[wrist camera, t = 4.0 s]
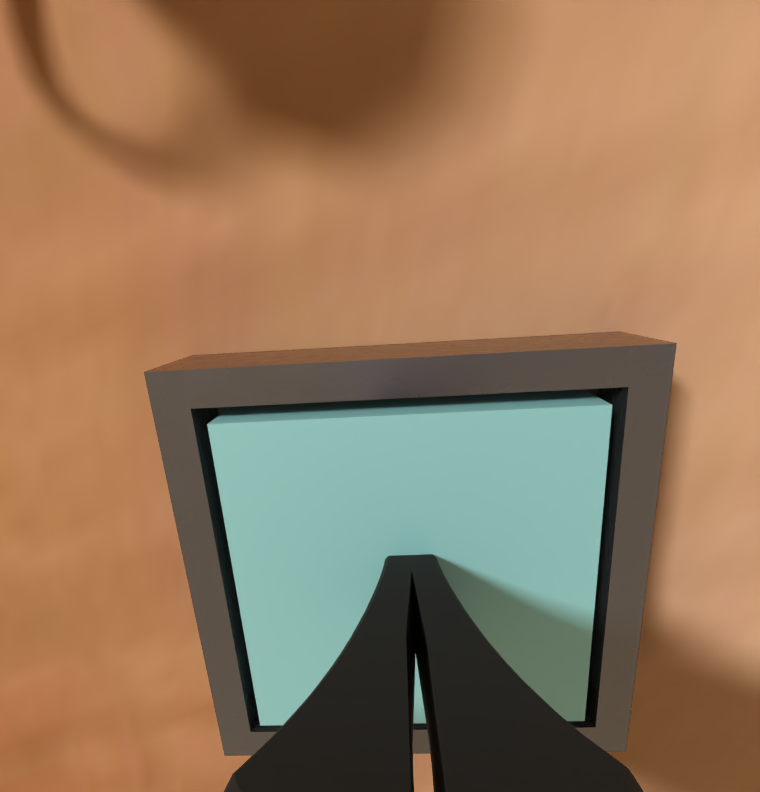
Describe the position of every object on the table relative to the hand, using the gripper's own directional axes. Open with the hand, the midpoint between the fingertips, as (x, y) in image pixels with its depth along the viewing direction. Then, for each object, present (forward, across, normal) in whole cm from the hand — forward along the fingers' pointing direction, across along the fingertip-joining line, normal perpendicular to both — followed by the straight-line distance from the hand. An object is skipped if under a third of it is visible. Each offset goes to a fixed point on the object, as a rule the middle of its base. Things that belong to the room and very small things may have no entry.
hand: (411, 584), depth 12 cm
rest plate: (+1, 0, 0) cm, 1 cm away
